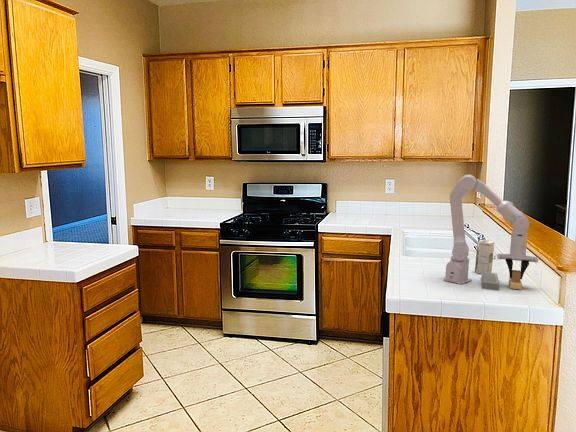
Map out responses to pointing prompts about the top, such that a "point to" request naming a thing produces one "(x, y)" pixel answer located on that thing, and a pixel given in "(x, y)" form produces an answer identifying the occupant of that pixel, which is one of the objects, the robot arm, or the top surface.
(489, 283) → the grey block
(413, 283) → the top surface
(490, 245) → the syrup box
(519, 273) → the stub
